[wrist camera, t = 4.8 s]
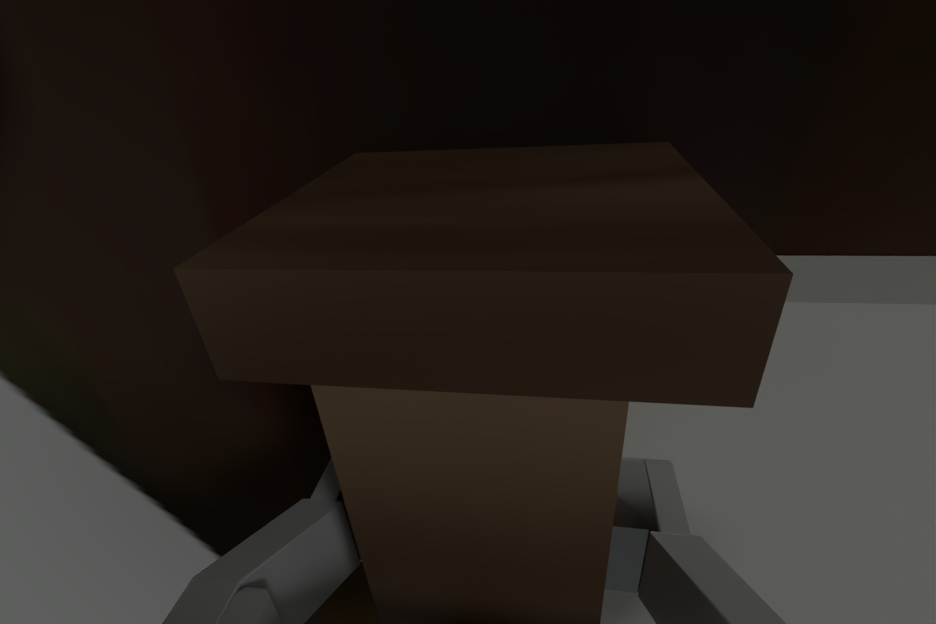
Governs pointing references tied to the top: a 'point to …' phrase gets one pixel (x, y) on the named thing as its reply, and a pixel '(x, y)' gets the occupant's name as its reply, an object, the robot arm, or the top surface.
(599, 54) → the top surface
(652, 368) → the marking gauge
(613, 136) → the top surface
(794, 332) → the white board
